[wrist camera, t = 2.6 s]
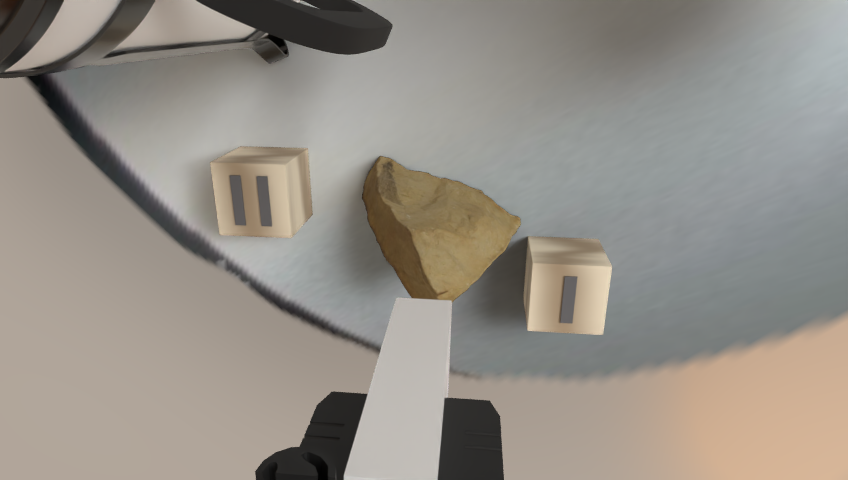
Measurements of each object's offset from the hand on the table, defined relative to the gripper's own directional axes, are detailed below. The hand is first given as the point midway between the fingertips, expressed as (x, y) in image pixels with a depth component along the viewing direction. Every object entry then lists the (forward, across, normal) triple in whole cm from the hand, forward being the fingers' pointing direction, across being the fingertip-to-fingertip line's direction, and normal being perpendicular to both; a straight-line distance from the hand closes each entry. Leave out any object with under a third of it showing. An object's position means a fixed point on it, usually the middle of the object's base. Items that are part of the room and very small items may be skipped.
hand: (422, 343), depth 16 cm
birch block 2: (+26, +8, -9) cm, 29 cm away
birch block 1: (+26, -13, -3) cm, 30 cm away
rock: (+26, -1, -4) cm, 27 cm away
